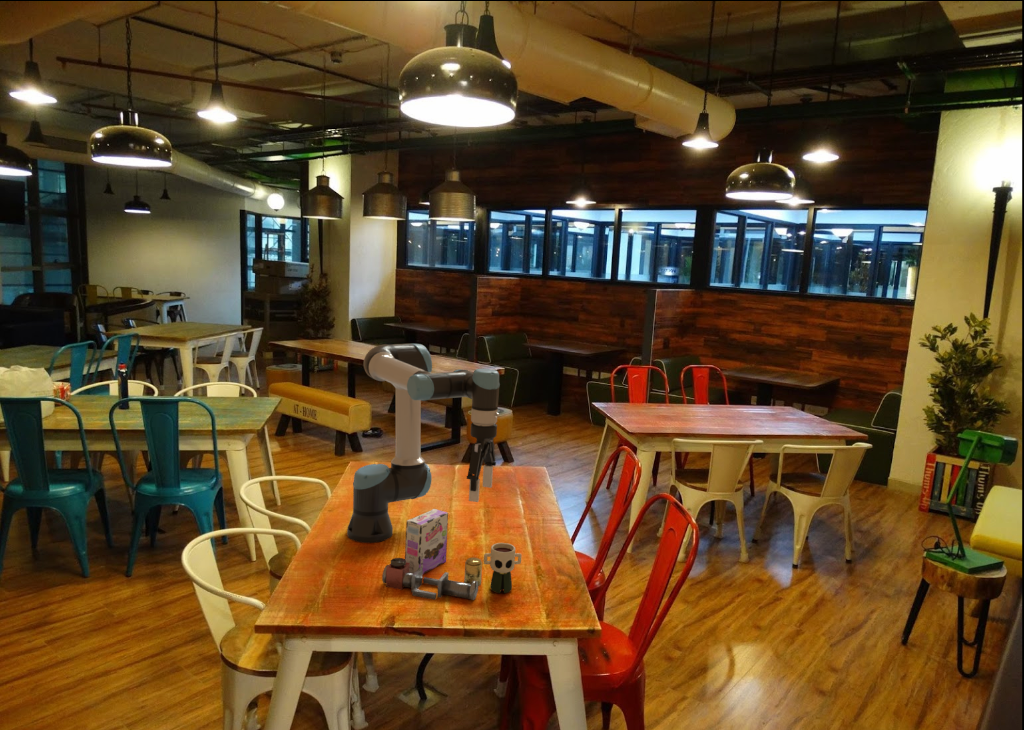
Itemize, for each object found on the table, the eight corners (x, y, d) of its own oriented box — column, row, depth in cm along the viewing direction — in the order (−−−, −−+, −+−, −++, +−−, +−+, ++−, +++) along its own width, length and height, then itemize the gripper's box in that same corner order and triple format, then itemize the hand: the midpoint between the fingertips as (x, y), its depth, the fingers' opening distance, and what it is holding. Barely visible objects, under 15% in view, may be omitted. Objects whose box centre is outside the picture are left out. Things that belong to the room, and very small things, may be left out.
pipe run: (379, 589, 200) (379, 565, 199) (392, 575, 208) (393, 553, 207) (469, 606, 193) (470, 581, 192) (479, 591, 201) (481, 568, 200)
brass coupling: (461, 585, 205) (462, 562, 204) (467, 578, 210) (468, 556, 209) (478, 588, 204) (479, 565, 202) (483, 581, 208) (484, 558, 207)
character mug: (483, 596, 199) (485, 552, 197) (481, 584, 206) (483, 542, 204) (521, 595, 201) (523, 552, 199) (517, 584, 207) (520, 542, 206)
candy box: (418, 577, 208) (420, 524, 206) (403, 571, 211) (405, 520, 209) (446, 561, 220) (449, 511, 217) (432, 556, 223) (434, 507, 221)
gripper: (484, 434, 188) (480, 509, 191) (507, 415, 212) (504, 482, 215) (457, 431, 190) (454, 505, 193) (483, 413, 214) (480, 479, 217)
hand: (480, 493), depth 204 cm, fingers open, 13 cm apart
